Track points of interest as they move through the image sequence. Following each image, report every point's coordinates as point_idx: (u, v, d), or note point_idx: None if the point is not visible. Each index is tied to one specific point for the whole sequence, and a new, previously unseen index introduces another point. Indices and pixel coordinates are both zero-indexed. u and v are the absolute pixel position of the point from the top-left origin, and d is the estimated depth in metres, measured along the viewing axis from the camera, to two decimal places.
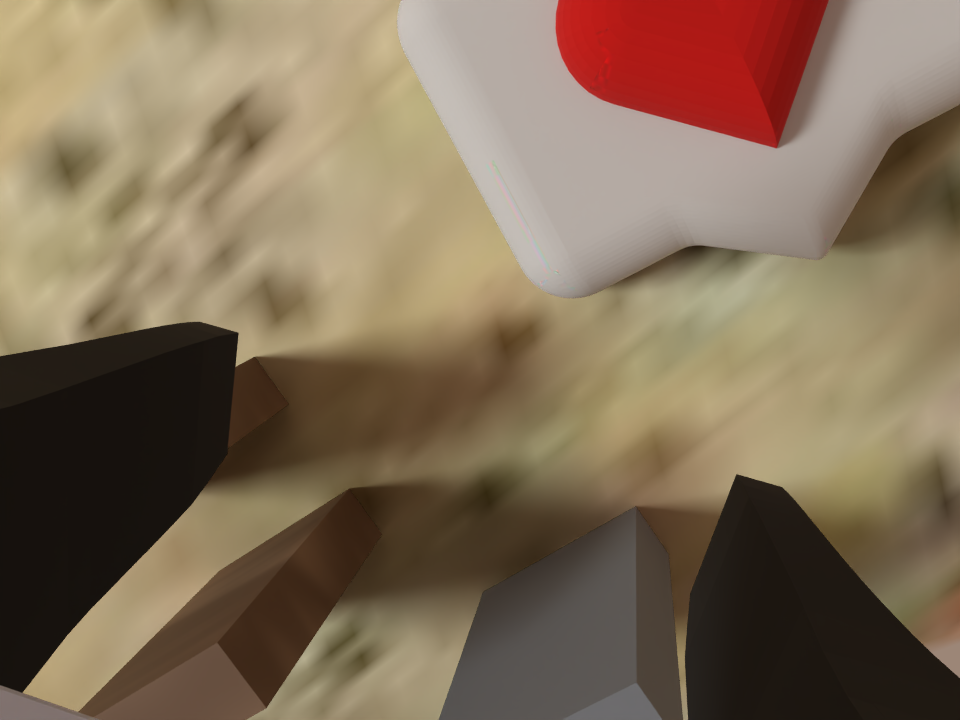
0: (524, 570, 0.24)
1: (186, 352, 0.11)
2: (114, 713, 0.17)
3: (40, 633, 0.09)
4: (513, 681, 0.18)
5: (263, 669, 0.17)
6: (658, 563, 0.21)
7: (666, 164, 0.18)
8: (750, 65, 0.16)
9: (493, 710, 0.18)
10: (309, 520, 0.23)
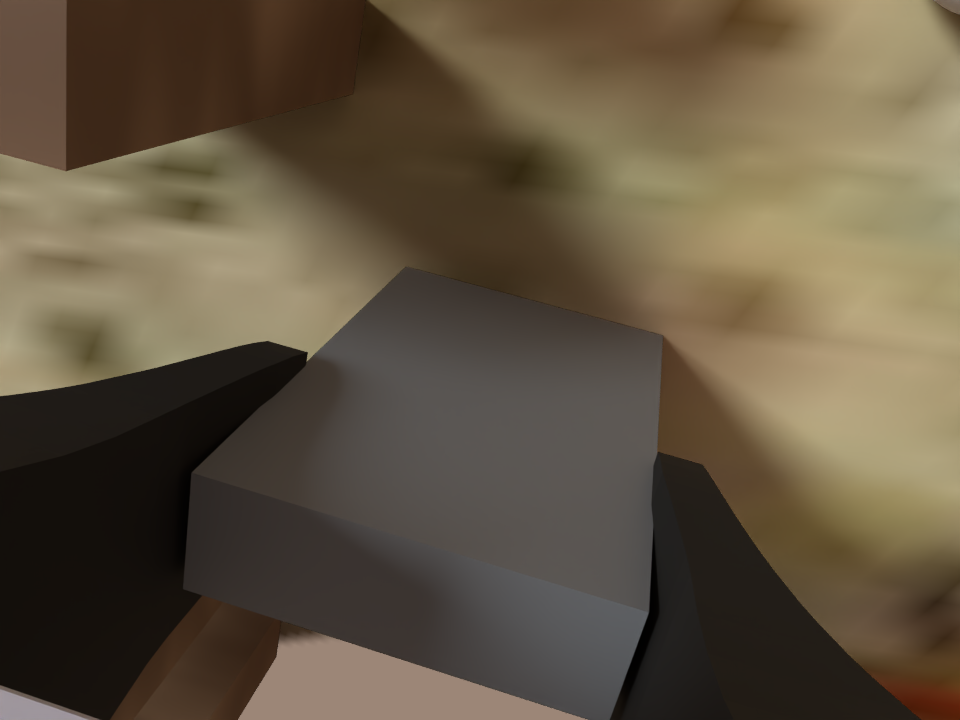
0: (476, 287, 0.16)
1: (263, 374, 0.11)
2: None
3: (126, 662, 0.09)
4: (423, 430, 0.11)
5: (105, 109, 0.09)
6: None
7: None
8: None
9: (377, 449, 0.10)
10: None
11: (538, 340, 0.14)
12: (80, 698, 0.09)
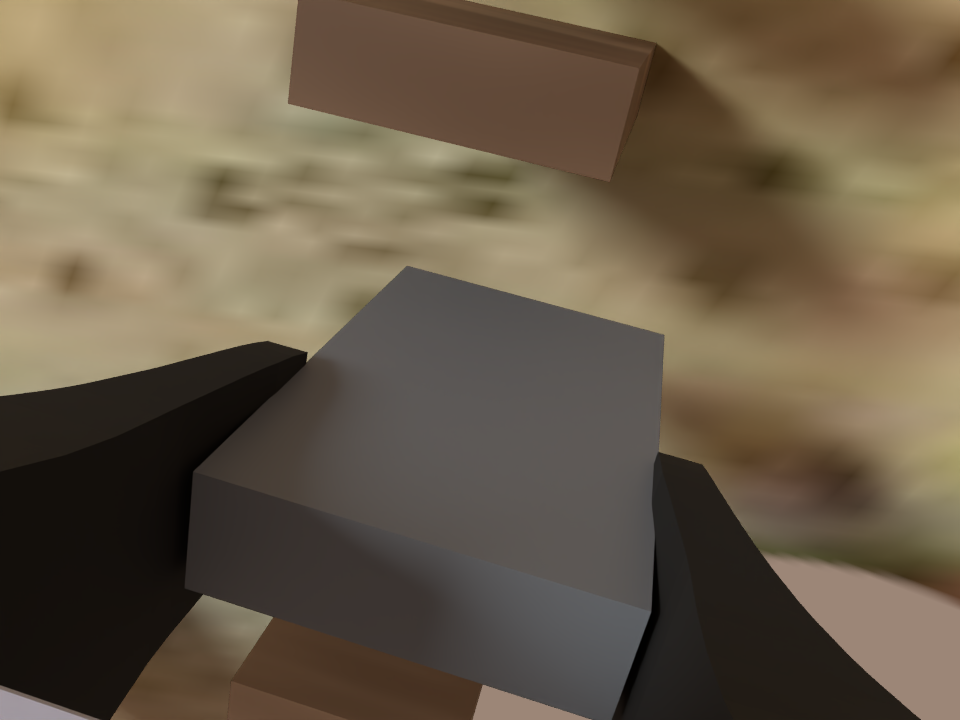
0: (477, 286, 0.16)
1: (263, 374, 0.11)
2: (431, 33, 0.12)
3: (126, 662, 0.09)
4: (425, 428, 0.11)
5: (621, 140, 0.13)
6: None
7: None
8: None
9: (379, 448, 0.10)
10: (610, 35, 0.18)
11: (539, 339, 0.14)
12: (79, 699, 0.09)
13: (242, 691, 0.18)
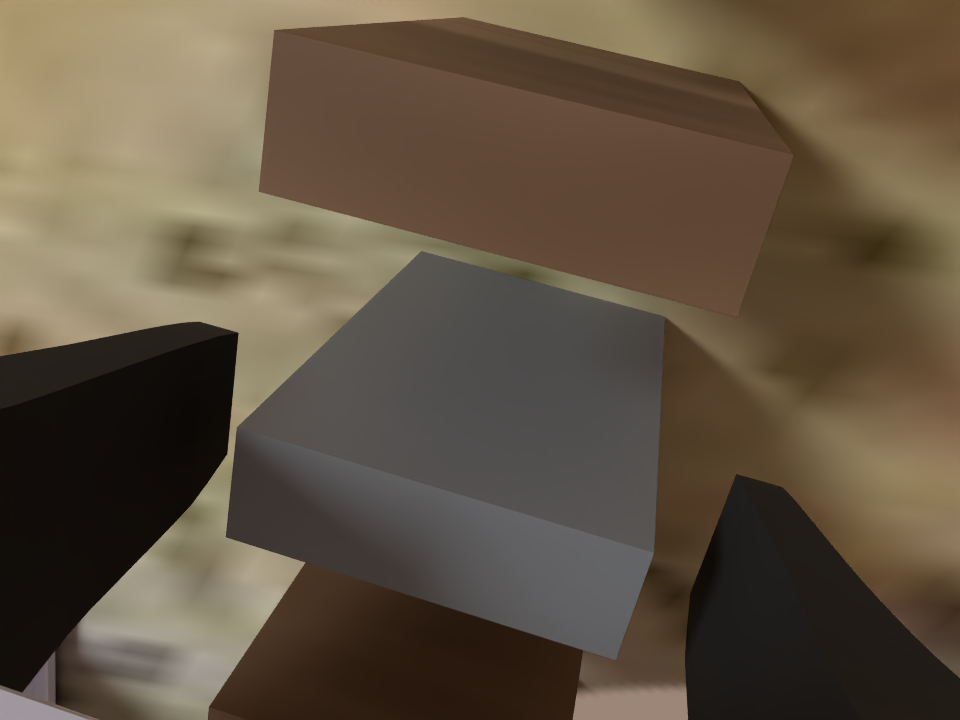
0: (488, 271, 0.17)
1: (186, 352, 0.11)
2: (472, 96, 0.08)
3: (40, 633, 0.09)
4: (444, 395, 0.12)
5: None
6: None
7: None
8: None
9: (403, 411, 0.11)
10: (684, 73, 0.14)
11: (548, 319, 0.15)
12: None
13: None
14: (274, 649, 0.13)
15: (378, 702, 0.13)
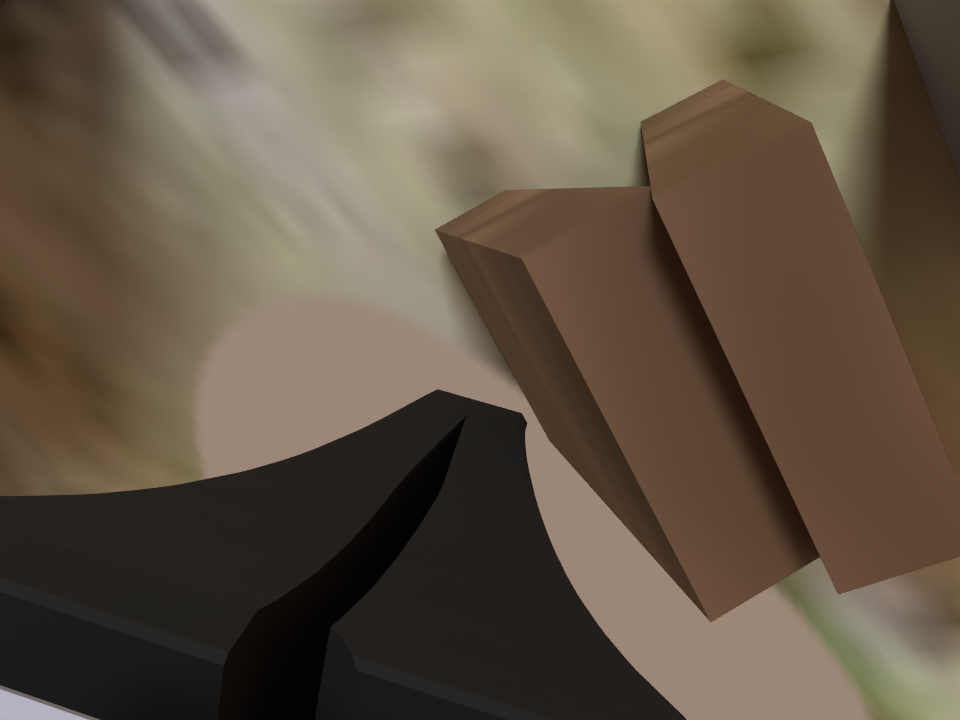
0: None
1: (455, 430, 0.10)
2: None
3: None
4: None
5: None
6: None
7: None
8: None
9: None
10: None
11: None
12: None
13: (644, 217, 0.09)
14: None
15: None
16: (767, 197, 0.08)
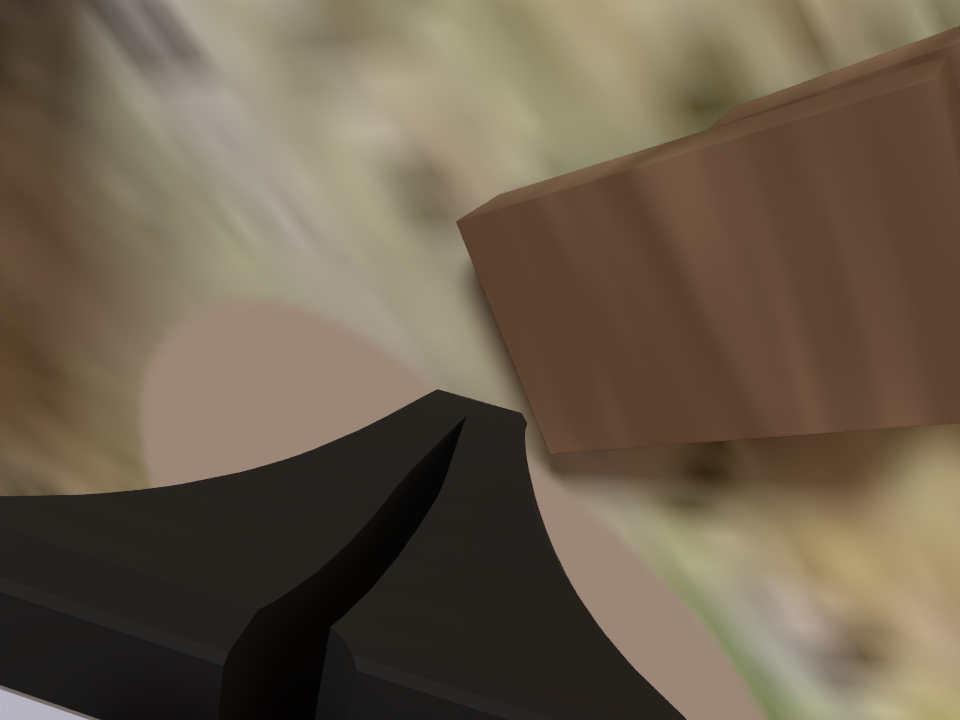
0: None
1: (455, 430, 0.10)
2: None
3: None
4: None
5: None
6: None
7: None
8: None
9: None
10: None
11: None
12: None
13: (950, 76, 0.12)
14: None
15: None
16: None
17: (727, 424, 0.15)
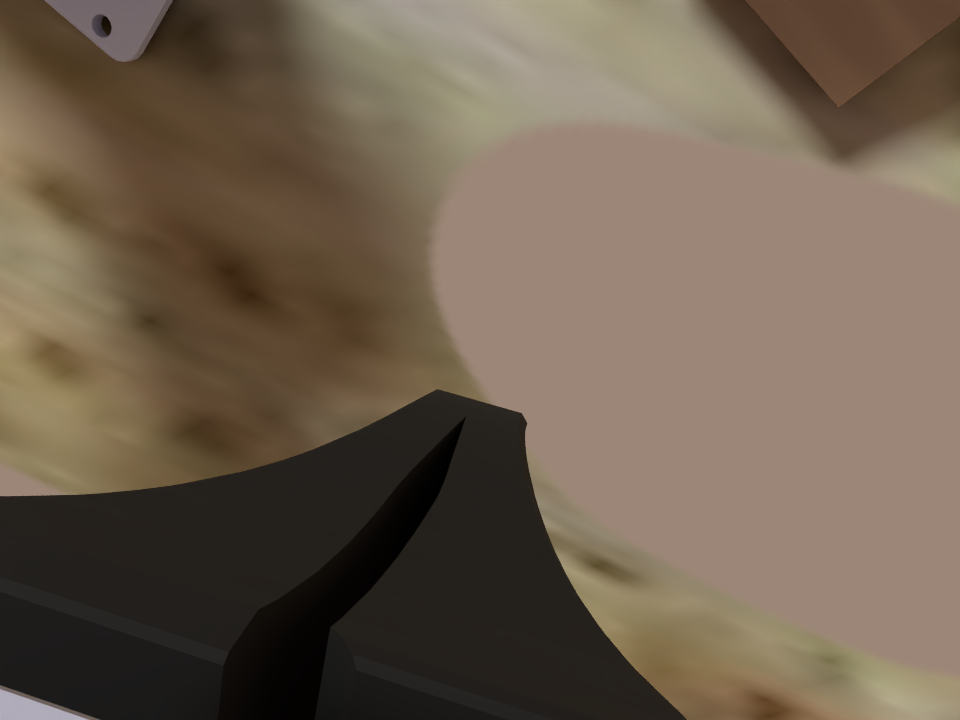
0: None
1: (455, 430, 0.10)
2: None
3: None
4: None
5: None
6: None
7: None
8: None
9: None
10: None
11: None
12: None
13: None
14: None
15: None
16: None
17: None
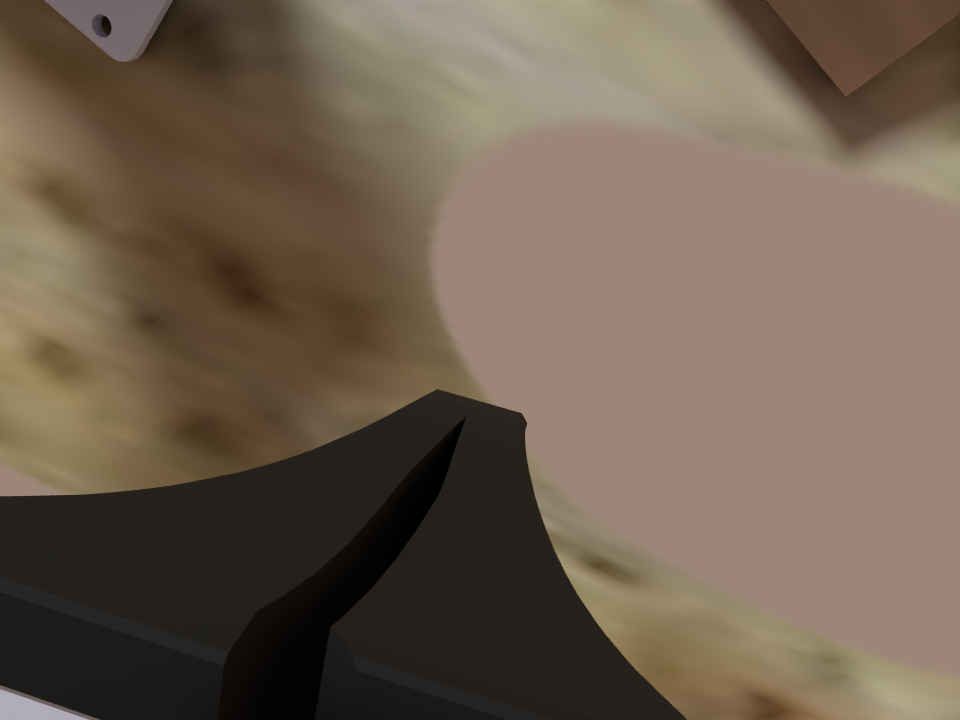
0: None
1: (455, 430, 0.10)
2: None
3: None
4: None
5: None
6: None
7: None
8: None
9: None
10: None
11: None
12: None
13: None
14: None
15: None
16: None
17: None
